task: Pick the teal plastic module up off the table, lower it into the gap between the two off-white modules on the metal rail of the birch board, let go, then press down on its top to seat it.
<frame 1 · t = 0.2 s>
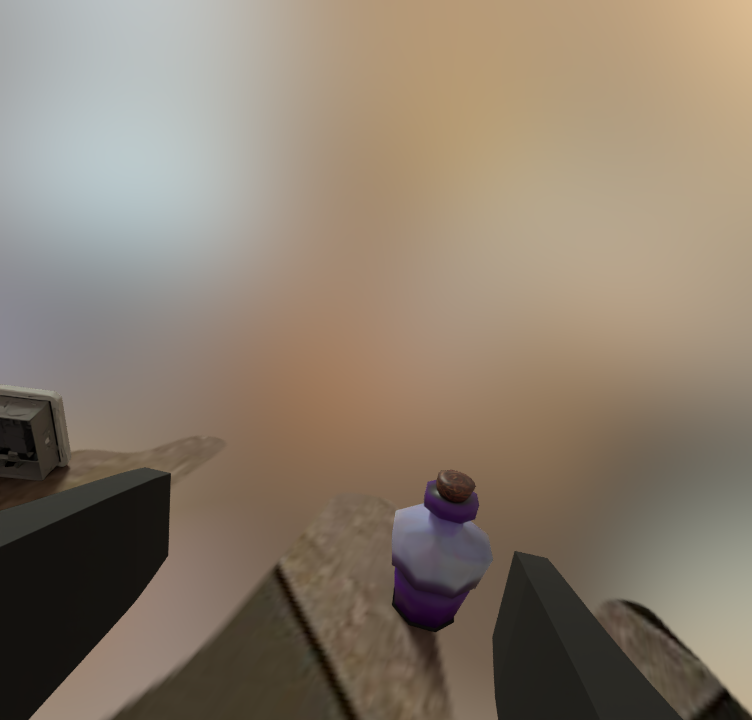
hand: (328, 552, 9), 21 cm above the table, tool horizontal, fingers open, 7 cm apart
electrical switch: (9, 473, 43), on the table
potion bottle: (422, 605, 37), on the table
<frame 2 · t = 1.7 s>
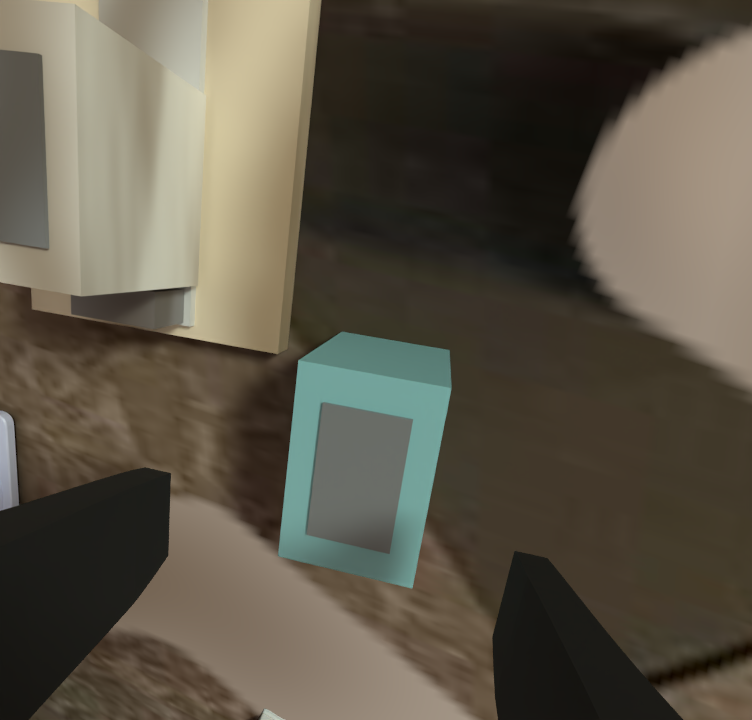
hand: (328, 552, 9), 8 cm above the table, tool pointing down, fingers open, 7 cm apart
teal module: (383, 416, 17), on the table
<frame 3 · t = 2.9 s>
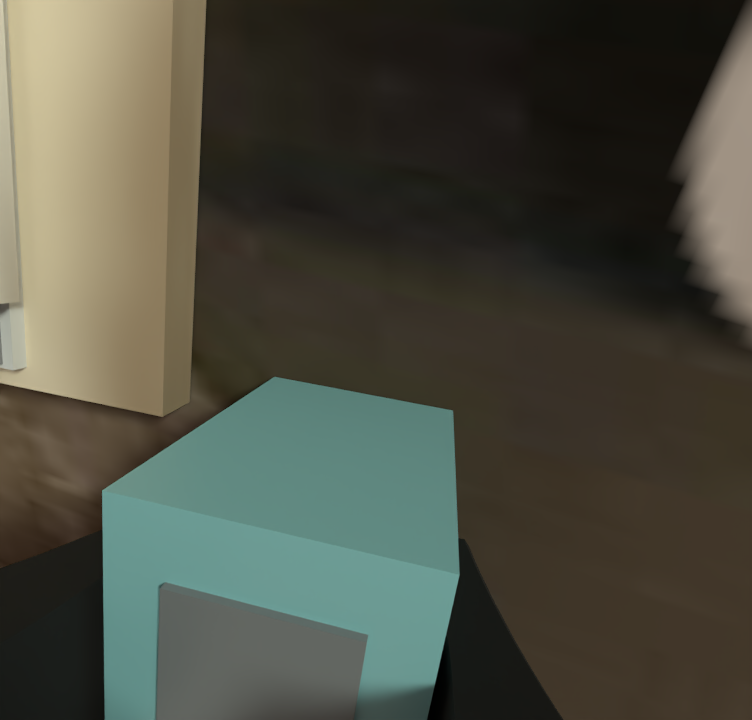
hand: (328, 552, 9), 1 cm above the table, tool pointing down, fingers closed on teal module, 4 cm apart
teal module: (344, 513, 10), on the table, touching gripper
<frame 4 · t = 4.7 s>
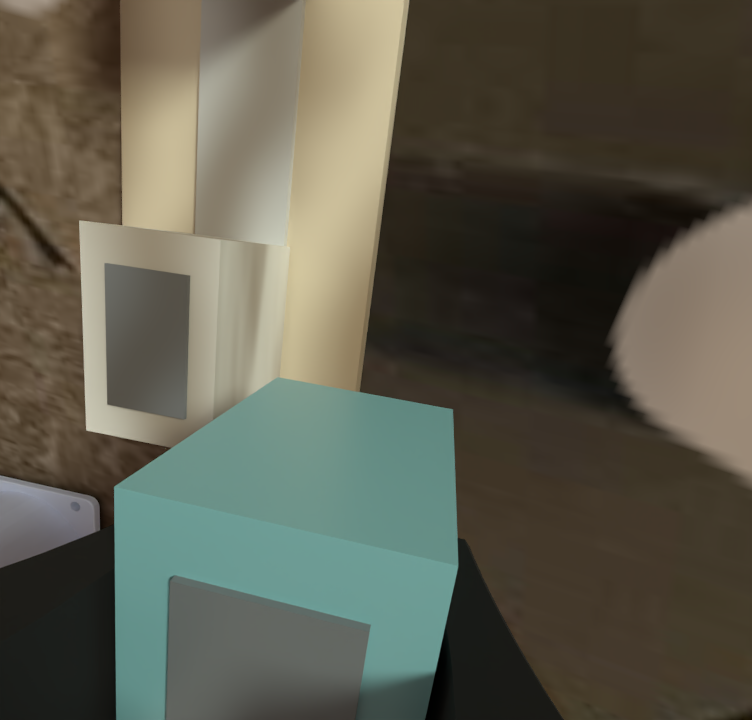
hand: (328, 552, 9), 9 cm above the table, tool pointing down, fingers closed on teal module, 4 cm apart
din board: (260, 132, 16), on the table
teal module: (346, 511, 10), point 8 cm above the table, touching gripper
when the fingers open (4 cm above the table, at t = 6.9 s): teal module stays where it is, resting on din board.
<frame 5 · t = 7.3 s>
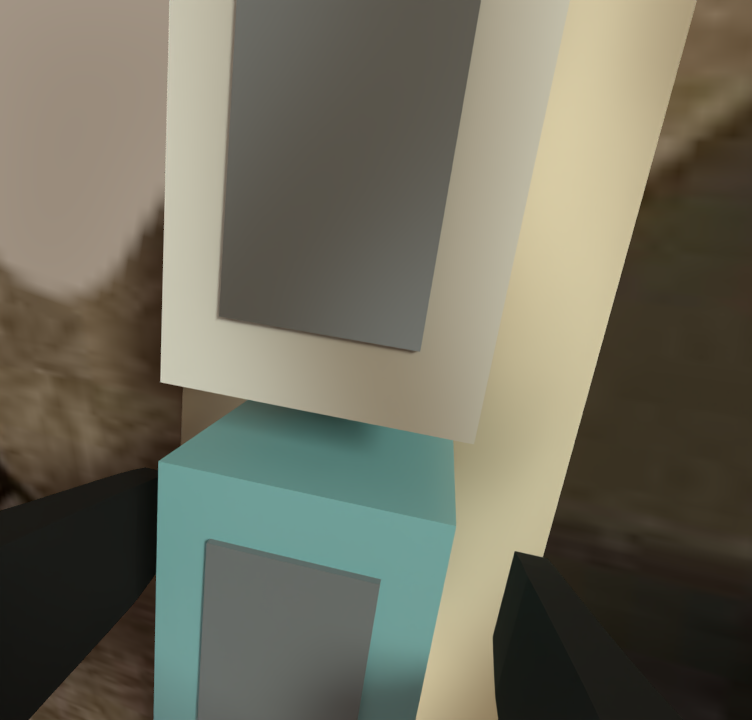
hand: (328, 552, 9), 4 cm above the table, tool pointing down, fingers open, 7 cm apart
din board: (362, 468, 12), on the table
teal module: (353, 496, 11), point 1 cm above the table, touching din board
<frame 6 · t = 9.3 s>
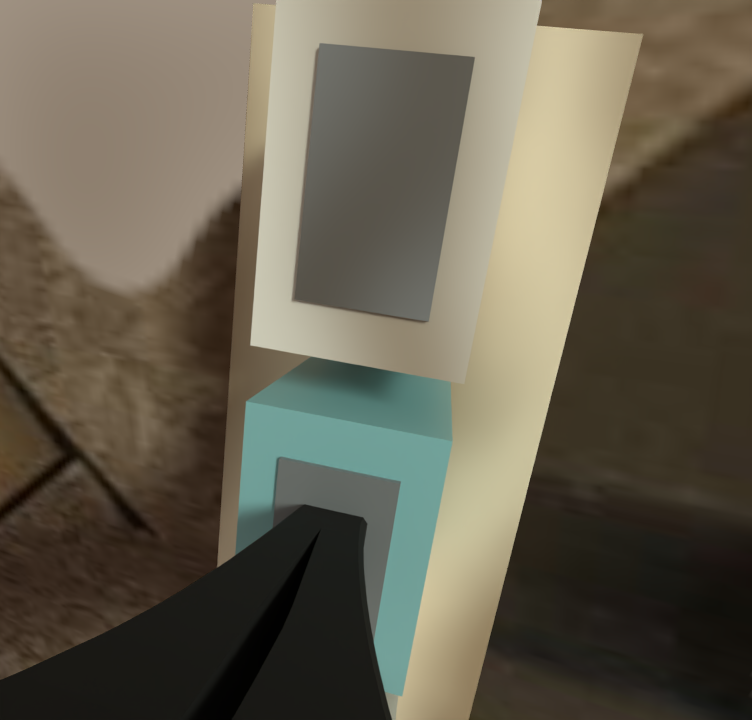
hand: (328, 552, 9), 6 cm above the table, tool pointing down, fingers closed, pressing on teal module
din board: (376, 434, 15), on the table
teal module: (370, 453, 14), point 1 cm above the table, touching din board, gripper
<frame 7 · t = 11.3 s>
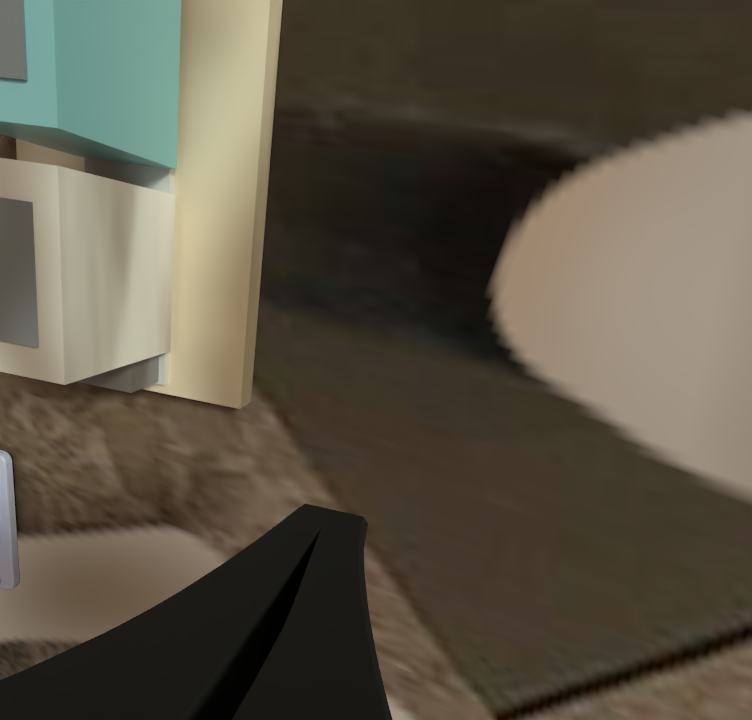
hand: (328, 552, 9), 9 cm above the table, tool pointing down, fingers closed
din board: (151, 83, 16), on the table
teal module: (127, 72, 15), point 1 cm above the table, touching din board
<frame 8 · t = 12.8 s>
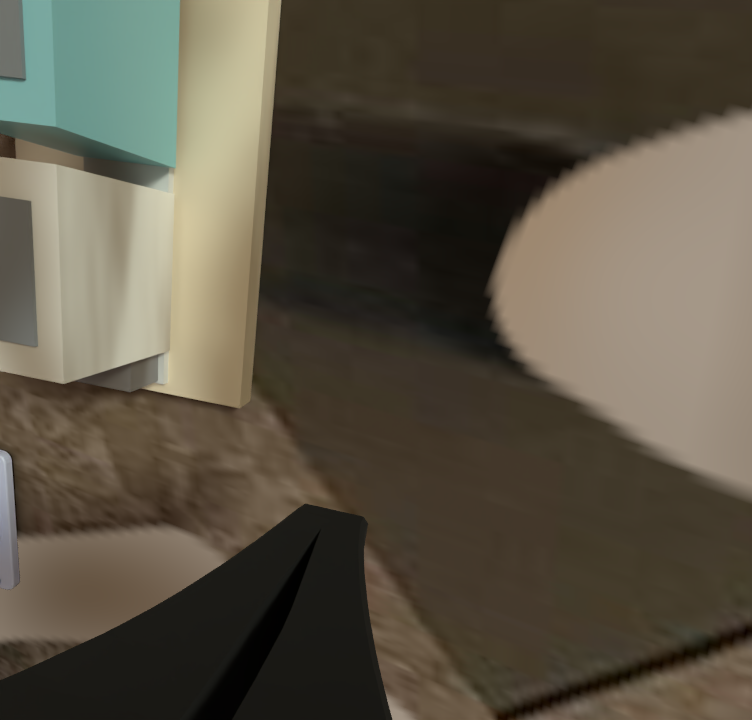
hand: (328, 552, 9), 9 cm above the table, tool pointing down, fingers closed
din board: (150, 82, 16), on the table
teal module: (126, 71, 15), point 1 cm above the table, touching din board
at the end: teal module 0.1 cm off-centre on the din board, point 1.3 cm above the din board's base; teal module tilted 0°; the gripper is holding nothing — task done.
